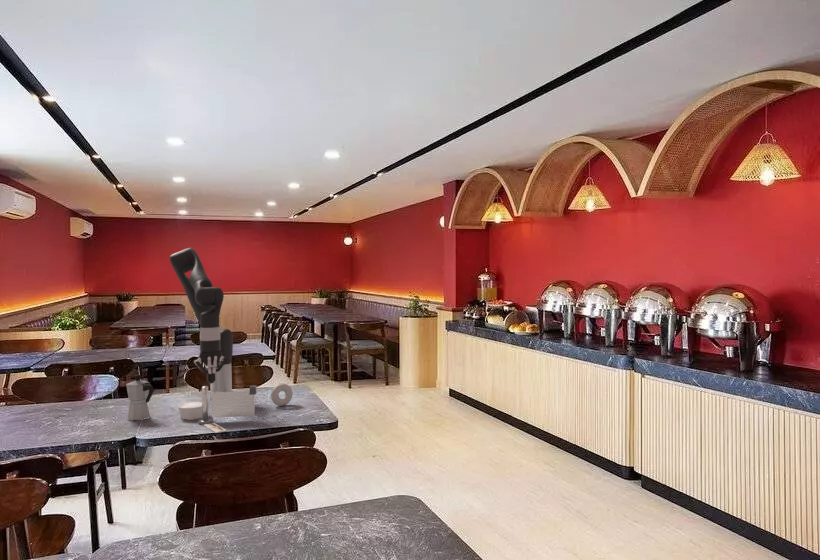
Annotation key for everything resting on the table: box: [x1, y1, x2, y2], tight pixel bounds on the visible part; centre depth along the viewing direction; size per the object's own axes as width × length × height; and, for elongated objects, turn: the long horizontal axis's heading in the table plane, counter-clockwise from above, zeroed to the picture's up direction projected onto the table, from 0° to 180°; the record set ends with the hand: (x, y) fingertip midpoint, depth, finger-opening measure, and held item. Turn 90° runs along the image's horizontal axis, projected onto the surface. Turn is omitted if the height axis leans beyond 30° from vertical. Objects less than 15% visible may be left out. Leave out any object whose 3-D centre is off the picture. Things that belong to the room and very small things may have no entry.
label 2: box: [209, 426, 227, 434], centre depth 222 cm, size 6×4×1 cm, turn 38°
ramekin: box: [177, 401, 202, 421], centre depth 242 cm, size 11×11×5 cm
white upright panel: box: [201, 384, 258, 420], centre depth 234 cm, size 21×3×13 cm, turn 98°
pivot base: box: [197, 417, 215, 426], centre depth 233 cm, size 6×6×1 cm
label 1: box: [203, 422, 221, 430], centre depth 227 cm, size 6×4×1 cm, turn 38°
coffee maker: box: [125, 374, 155, 421], centre depth 240 cm, size 15×9×18 cm, turn 65°
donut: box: [270, 383, 294, 407], centre depth 259 cm, size 10×4×10 cm, turn 125°
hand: (211, 383), depth 227 cm, fingers closed
